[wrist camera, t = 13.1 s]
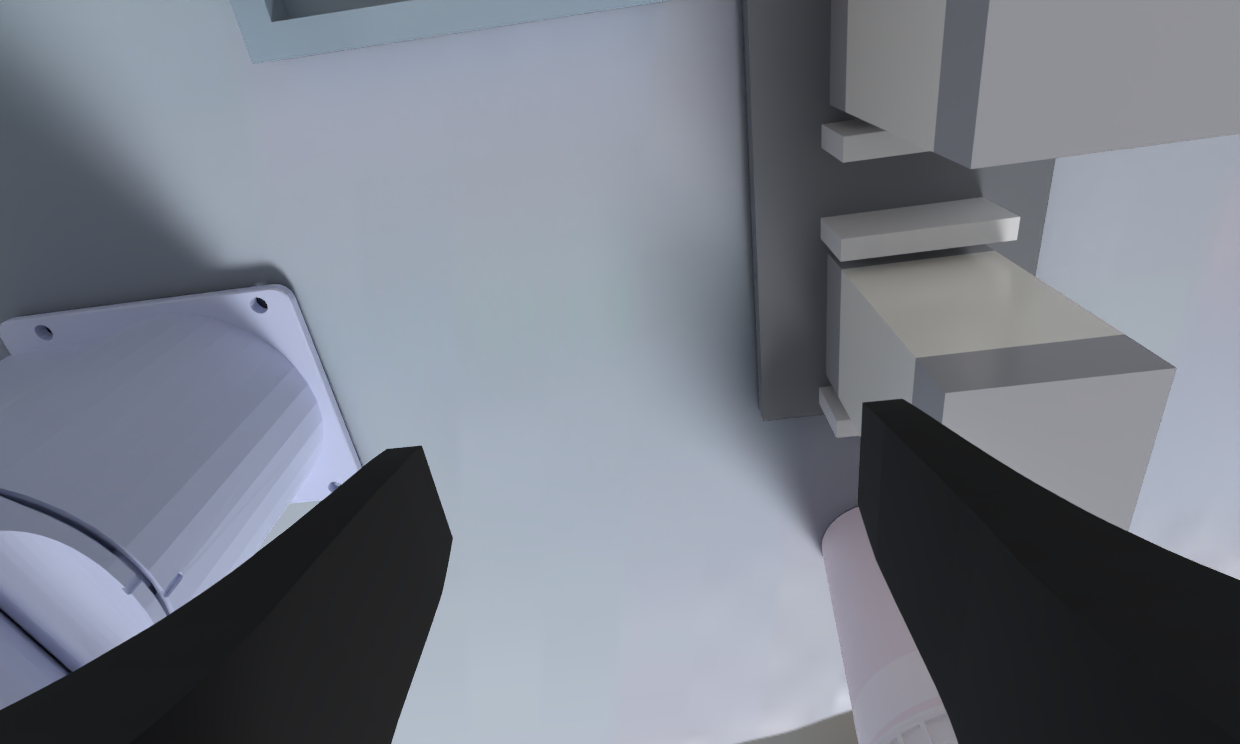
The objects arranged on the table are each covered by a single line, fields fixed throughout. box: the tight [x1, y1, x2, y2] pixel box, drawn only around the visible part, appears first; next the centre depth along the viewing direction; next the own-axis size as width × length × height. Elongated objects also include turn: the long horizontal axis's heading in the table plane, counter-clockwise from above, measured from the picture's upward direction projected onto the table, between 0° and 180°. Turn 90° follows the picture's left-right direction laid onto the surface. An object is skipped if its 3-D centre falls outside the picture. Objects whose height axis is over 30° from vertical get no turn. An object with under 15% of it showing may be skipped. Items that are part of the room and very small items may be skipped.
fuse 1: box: [830, 0, 1240, 169], centre depth 13 cm, size 4×4×8 cm
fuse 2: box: [826, 244, 1176, 531], centre depth 16 cm, size 4×4×8 cm
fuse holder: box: [742, 0, 1055, 438], centre depth 16 cm, size 8×23×3 cm, turn 8°
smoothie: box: [822, 507, 958, 744], centre depth 19 cm, size 6×6×14 cm
